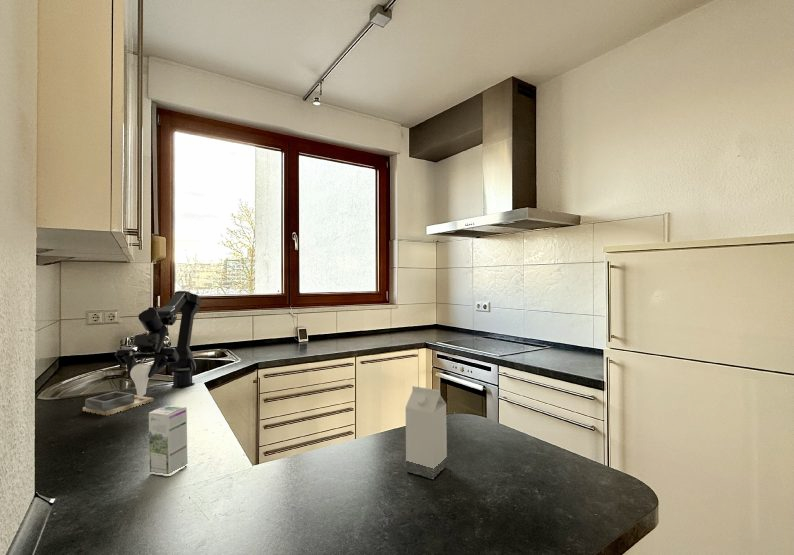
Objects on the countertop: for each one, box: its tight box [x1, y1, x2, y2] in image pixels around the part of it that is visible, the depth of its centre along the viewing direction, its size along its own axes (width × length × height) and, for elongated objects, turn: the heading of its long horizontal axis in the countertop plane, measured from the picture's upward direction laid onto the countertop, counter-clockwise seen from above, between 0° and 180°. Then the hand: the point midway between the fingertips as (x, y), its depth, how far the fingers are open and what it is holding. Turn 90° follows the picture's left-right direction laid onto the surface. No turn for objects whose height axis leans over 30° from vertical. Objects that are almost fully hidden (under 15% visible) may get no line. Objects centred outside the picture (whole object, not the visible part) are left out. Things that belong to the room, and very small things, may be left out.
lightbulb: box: [130, 363, 152, 397], centre depth 130 cm, size 6×6×11 cm
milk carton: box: [405, 386, 448, 469], centre depth 90 cm, size 7×7×19 cm
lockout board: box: [82, 390, 154, 417], centre depth 138 cm, size 16×13×4 cm
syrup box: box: [148, 405, 189, 474], centre depth 91 cm, size 6×6×14 cm
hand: (138, 377), depth 129 cm, fingers closed on lightbulb, 6 cm apart
